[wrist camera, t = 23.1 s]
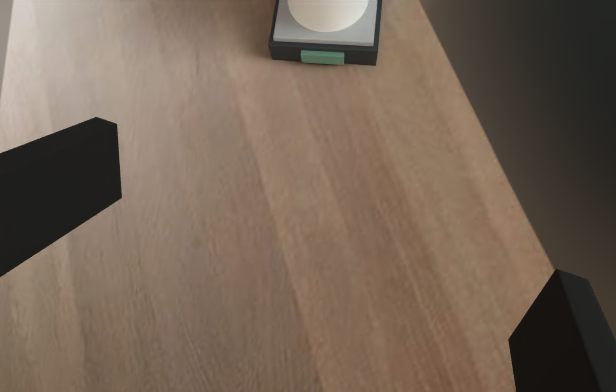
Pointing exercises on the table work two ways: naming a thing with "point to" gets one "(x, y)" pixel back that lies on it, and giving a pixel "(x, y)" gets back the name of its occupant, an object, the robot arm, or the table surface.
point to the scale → (326, 39)
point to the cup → (327, 13)
